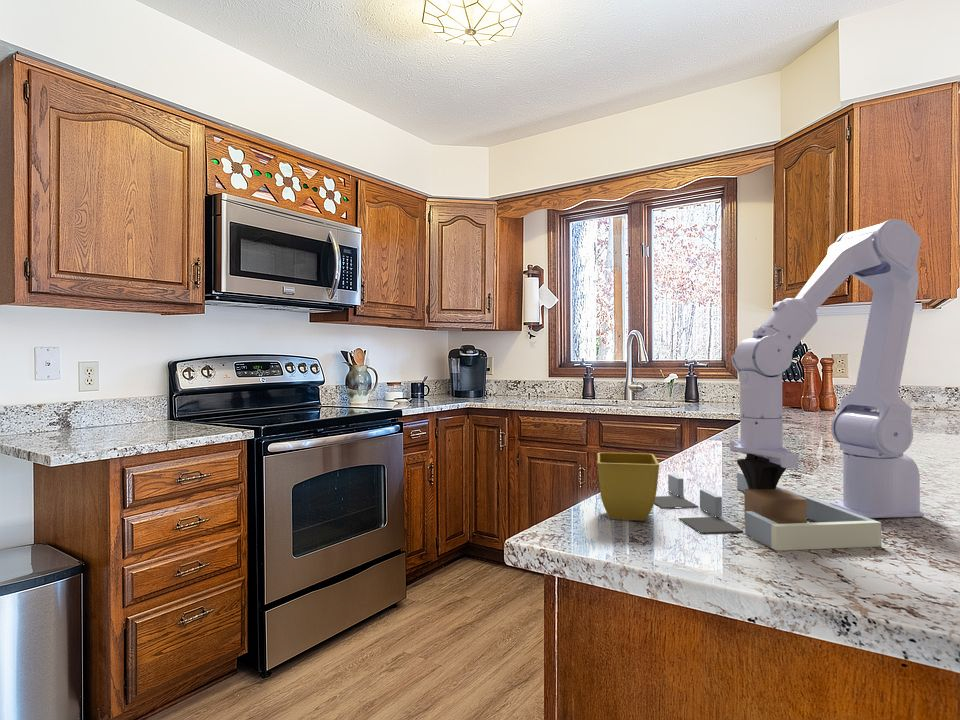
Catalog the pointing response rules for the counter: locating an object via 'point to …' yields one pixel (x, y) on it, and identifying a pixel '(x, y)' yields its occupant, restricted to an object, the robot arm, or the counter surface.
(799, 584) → the counter surface
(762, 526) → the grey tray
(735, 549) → the counter surface
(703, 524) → the mat
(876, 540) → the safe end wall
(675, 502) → the mat
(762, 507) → the walnut block
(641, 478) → the flower pot
